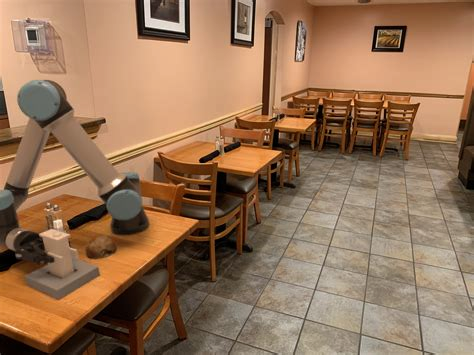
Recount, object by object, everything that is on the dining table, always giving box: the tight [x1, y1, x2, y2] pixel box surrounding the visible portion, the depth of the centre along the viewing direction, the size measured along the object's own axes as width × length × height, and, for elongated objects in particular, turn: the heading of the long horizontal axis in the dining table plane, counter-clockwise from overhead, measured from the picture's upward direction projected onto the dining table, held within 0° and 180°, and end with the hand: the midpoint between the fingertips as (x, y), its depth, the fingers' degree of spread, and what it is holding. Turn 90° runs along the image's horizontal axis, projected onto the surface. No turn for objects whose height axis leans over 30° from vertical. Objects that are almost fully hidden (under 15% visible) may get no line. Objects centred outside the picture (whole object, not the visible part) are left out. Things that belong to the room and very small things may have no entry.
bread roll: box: [85, 234, 117, 259], centre depth 125 cm, size 10×10×8 cm
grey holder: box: [24, 258, 101, 300], centre depth 109 cm, size 14×16×3 cm
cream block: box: [38, 228, 74, 279], centre depth 107 cm, size 4×9×15 cm, turn 60°
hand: (69, 257), depth 104 cm, fingers closed on cream block, 4 cm apart
